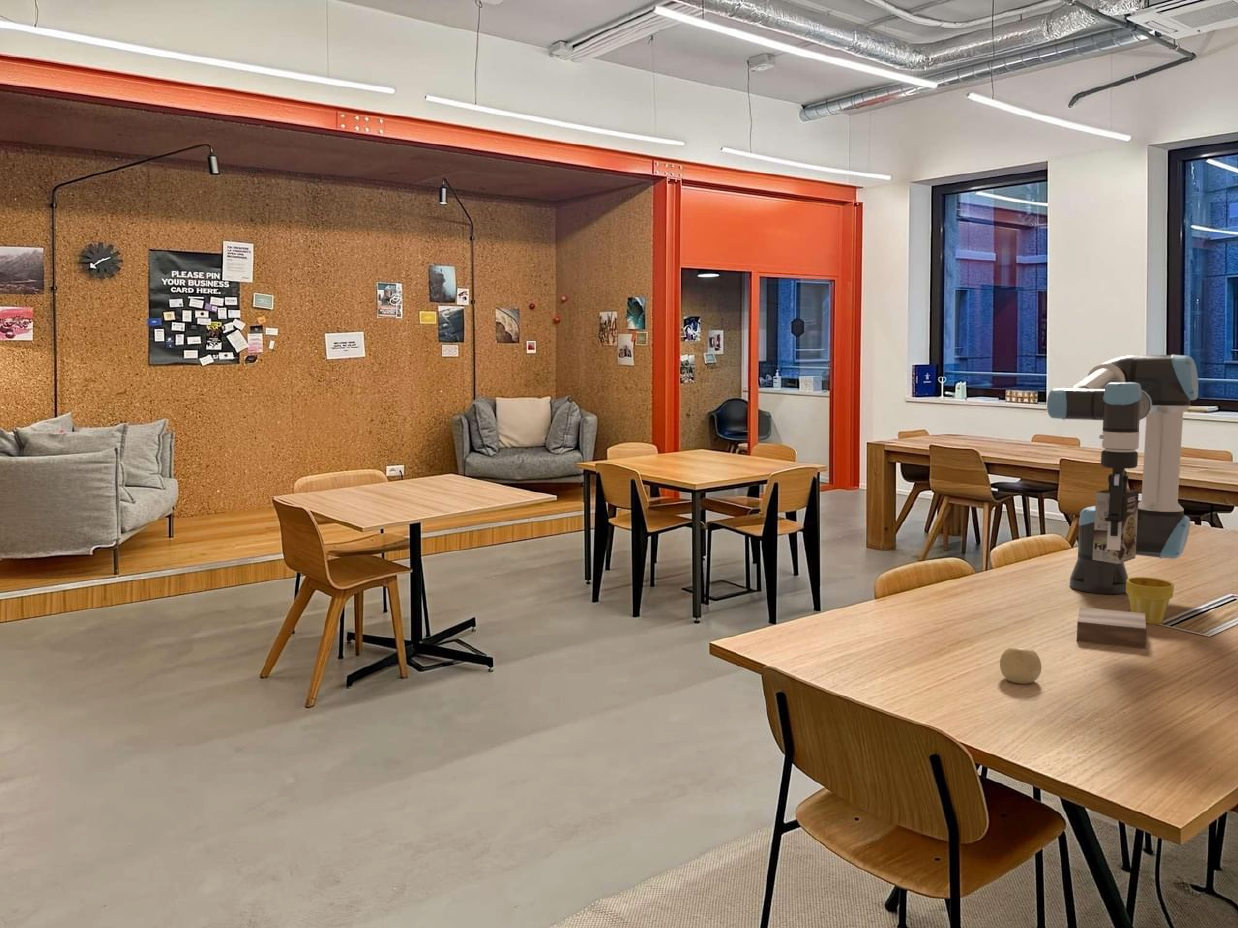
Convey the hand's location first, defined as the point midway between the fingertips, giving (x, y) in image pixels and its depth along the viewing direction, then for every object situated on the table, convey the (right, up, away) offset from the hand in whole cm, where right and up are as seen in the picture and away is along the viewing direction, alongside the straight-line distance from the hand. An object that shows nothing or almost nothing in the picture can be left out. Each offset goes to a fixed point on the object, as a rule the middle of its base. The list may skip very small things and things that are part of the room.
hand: (1115, 545), depth 229 cm
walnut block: (0, -22, +3) cm, 22 cm away
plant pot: (+16, -20, +16) cm, 30 cm away
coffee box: (0, -4, 0) cm, 3 cm away
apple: (-33, -26, -26) cm, 49 cm away
